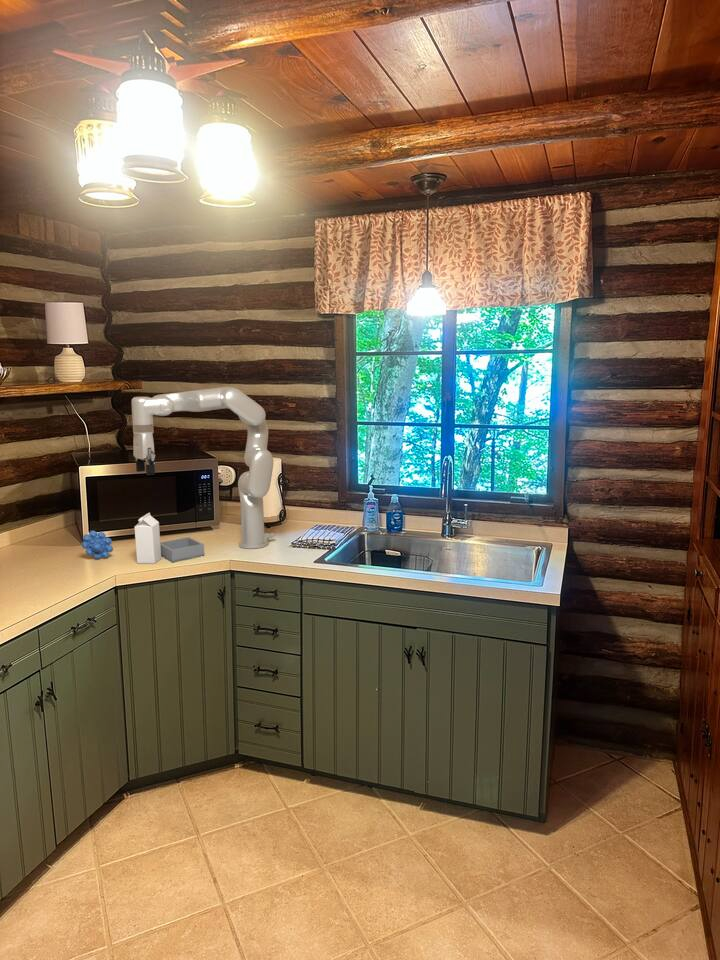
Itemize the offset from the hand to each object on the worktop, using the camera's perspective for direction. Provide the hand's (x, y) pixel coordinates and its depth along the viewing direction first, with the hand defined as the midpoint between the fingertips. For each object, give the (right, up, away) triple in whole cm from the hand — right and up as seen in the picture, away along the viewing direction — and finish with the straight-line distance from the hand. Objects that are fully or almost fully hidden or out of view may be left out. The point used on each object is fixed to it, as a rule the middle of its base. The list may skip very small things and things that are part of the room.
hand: (145, 473), depth 268 cm
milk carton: (0, -35, +5) cm, 35 cm away
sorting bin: (+11, -33, +12) cm, 37 cm away
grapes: (-21, -35, +7) cm, 41 cm away
